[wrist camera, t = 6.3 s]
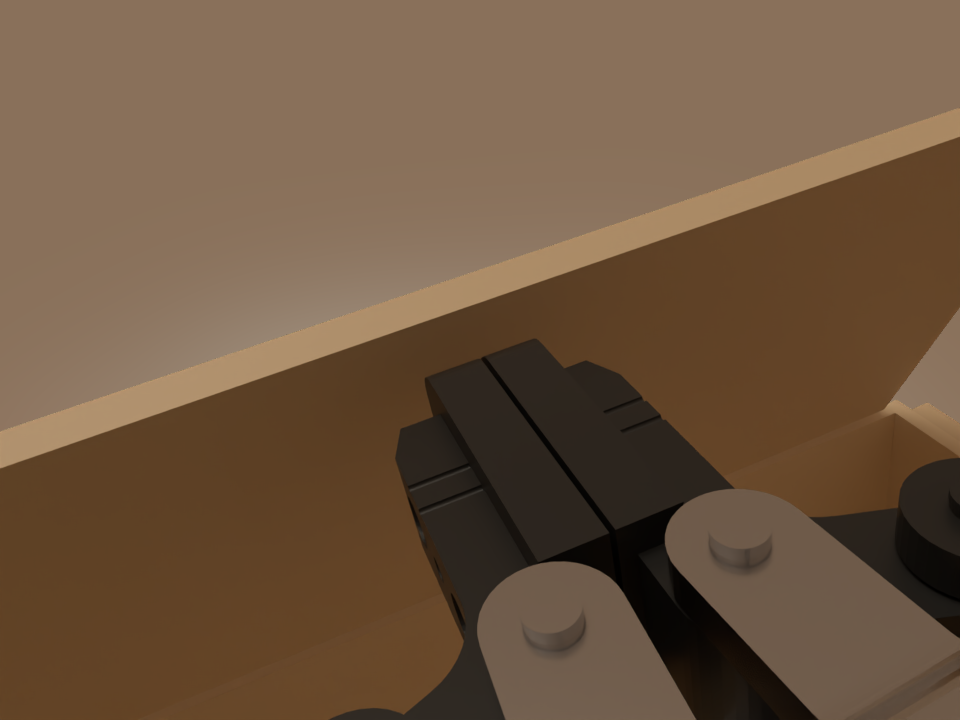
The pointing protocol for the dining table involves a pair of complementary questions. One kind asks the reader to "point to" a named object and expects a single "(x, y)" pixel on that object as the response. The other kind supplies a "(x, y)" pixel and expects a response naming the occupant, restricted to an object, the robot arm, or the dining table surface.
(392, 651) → the carton
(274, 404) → the carton flap
